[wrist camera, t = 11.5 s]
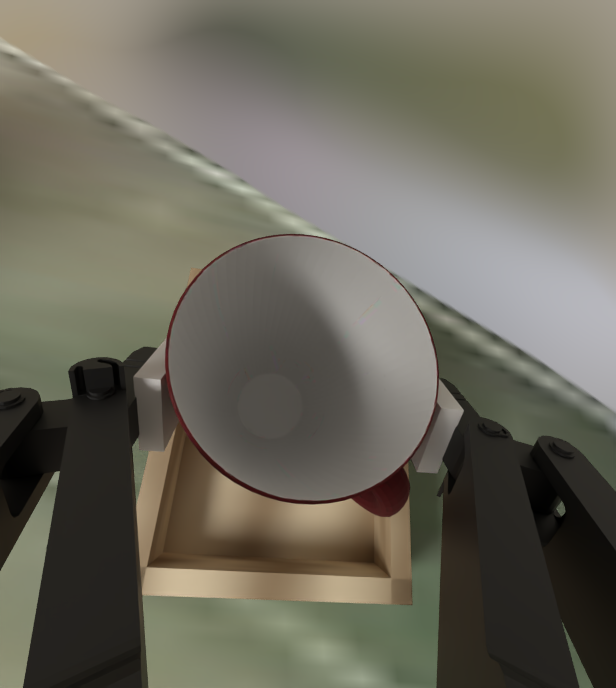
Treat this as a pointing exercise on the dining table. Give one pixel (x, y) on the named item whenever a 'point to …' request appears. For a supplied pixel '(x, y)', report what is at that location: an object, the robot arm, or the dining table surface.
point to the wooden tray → (261, 539)
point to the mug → (303, 372)
